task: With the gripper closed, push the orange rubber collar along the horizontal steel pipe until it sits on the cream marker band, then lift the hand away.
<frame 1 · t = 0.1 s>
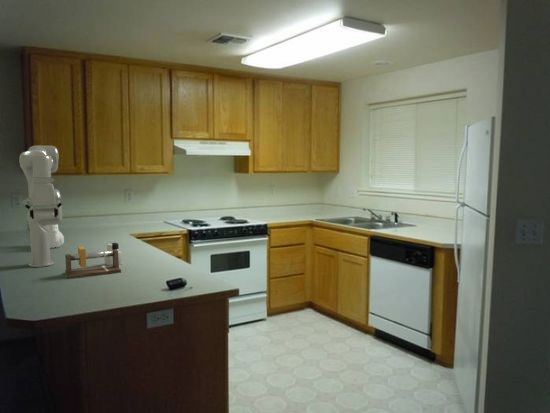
hand: (44, 217, 216), 31 cm above the countertop, tool pointing down, fingers open, 9 cm apart
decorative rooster: (51, 248, 309), on the countertop
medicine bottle: (113, 264, 258), on the countertop
collar: (81, 256, 236), point 9 cm above the countertop, slide at -5.0 cm
pipe stand: (93, 272, 239), on the countertop
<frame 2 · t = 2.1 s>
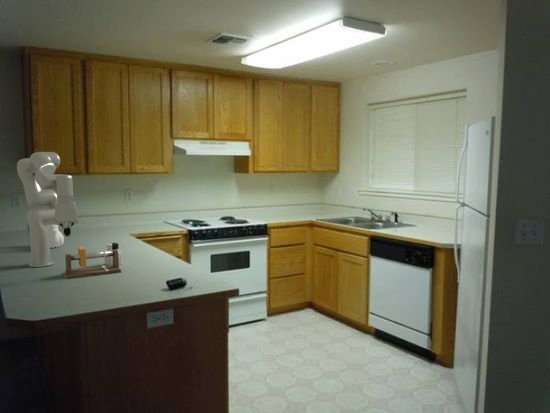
hand: (67, 235, 231), 20 cm above the countertop, tool pointing down, fingers closed
nothing on the countertop moved.
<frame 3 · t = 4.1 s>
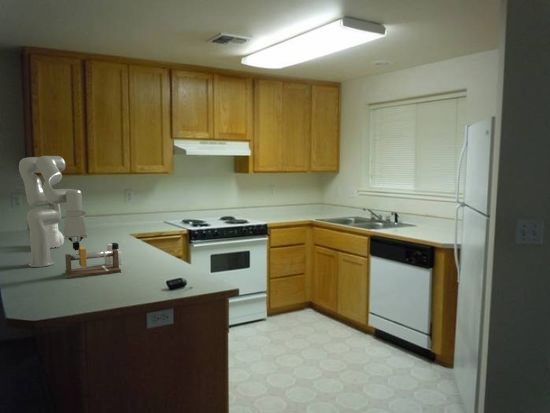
hand: (76, 249, 234), 13 cm above the countertop, tool pointing down, fingers closed
collar: (82, 256, 236), point 9 cm above the countertop, slide at -4.8 cm, touching gripper
everything else where it was.
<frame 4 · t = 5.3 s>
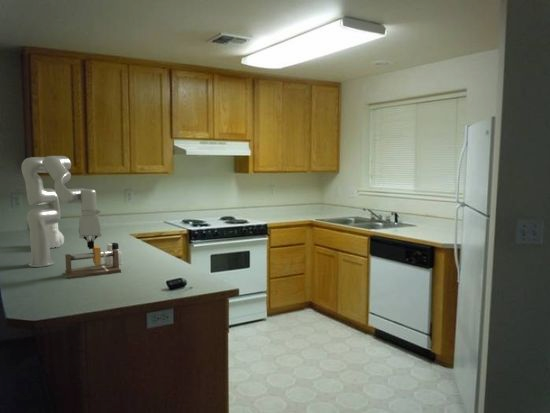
hand: (90, 248, 237), 13 cm above the countertop, tool pointing down, fingers closed
collar: (96, 255, 239), point 9 cm above the countertop, slide at 2.1 cm, touching gripper
everything else where it was.
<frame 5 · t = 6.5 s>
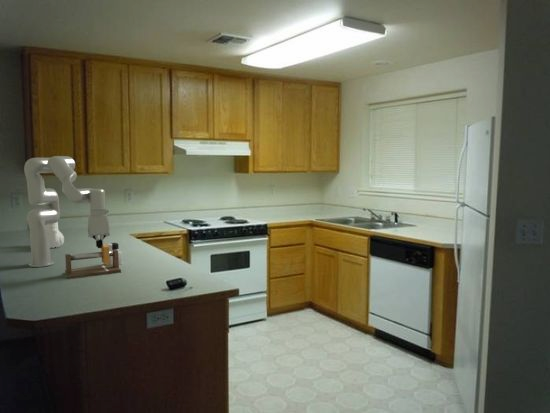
hand: (99, 247, 239), 13 cm above the countertop, tool pointing down, fingers closed
collar: (105, 254, 241), point 9 cm above the countertop, slide at 6.4 cm, touching gripper
everything else where it was.
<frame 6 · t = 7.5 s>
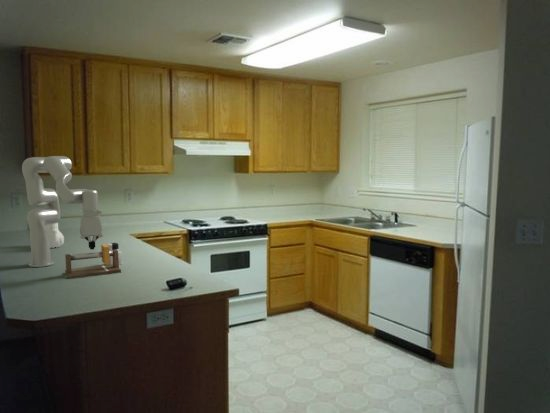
hand: (92, 249, 238), 12 cm above the countertop, tool pointing down, fingers closed
collar: (105, 254, 241), point 9 cm above the countertop, slide at 6.5 cm
everything else where it was.
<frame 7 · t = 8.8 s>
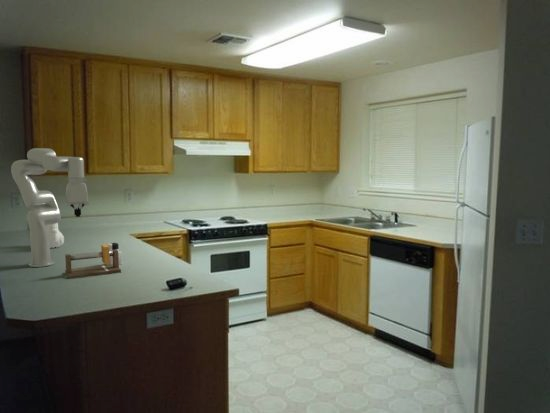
hand: (77, 216, 238), 29 cm above the countertop, tool pointing down, fingers closed
nothing on the countertop moved.
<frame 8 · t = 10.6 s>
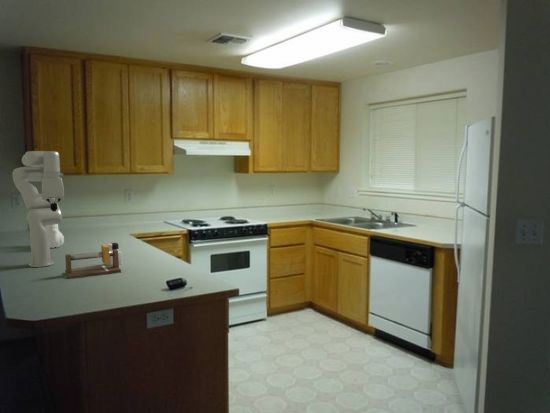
hand: (54, 211, 237), 32 cm above the countertop, tool pointing down, fingers closed
nothing on the countertop moved.
at the end: collar slide at 6.5 cm; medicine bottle moved 0.2 cm from its start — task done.
